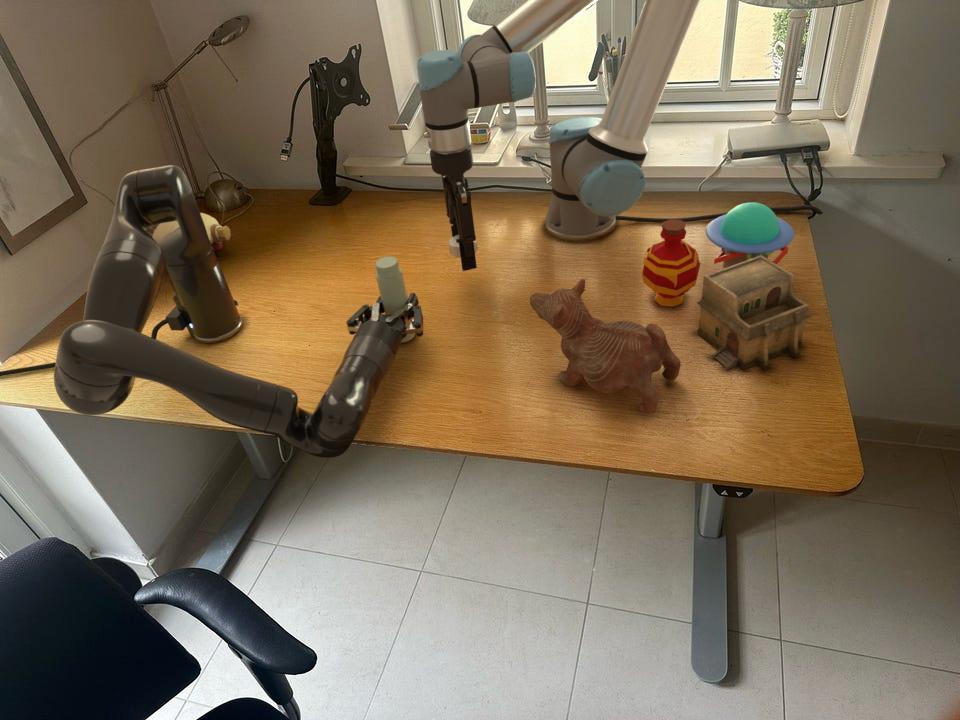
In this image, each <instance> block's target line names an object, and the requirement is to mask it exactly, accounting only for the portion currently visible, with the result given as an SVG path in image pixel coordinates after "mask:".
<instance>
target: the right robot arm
mask: <svg viewBox="0 0 960 720" xmlns="http://www.w3.org/2000/svg"><path fill="white" fill-rule="evenodd" d="M597 1H598V0H524V1H523V2H521V3H520V4H519V5H518V6H516V7H515V8H514V9H513V10H511V11H510V12H509V13H508V14H506V15H505V16H503V18H501V19H500V20H498V22H496V23H495V24H494V25H492V26H491V27H490V28H488V29H487V30H485V31H484V32H483V33H482V34H472V35H470V36H468V37H466V38H465V39H464V40H463V41H462V43H461V44H460V45H459V49H458V51H457V50H454V49H443V50H442V49H439V50H434V51H430V52H427V53H424V54H422V55H421V56H420V57H419V59H418V60H417V62H416V64H417V65H416V67H417V77H418V89H419V94H420V100H421V106H422V112H423V113H422V114H423V119H424V124H425V125H424V126H425V129H426V132H423V138H425V139H427V144H428V148H429V149H430V150H429V159H430V165H431V170H432V171H433V173H435V174H437V175H439V176H441V182H442V187H443V194H444V202H445V208H446V209H445V210H446V217H447V218H448V221H449V224H450V230H451V231H450V232H451V238H452V237H454V236H456V235H459V239H456V242H457V243H459V249H460V256H461V258H460V263H461V269H462V271H463V272H465V271H470V270H475V269H477V267H478V266H477V259H476V253H475V250H474V242H473V241H477V236H476V232H475V230H476V229H475V224H474V215H473V208H472V193H471V191H470V190H468V189H469V183H468V182H469V181H468V178H466V177H465V175H464V174H465V173H466V172H467V171H470V170H471V169H472V168H473V166H474V157H473V155H474V154H473V147H472V145H471V143H472V136H471V127H470V119H469V110H474V109H479V108H487V107H491V106H497V105H501V104H503V105H504V104H508V103H517V102H518V101H523V100H526V99H529V98H531V97H533V95H534V94H535V91H536V86H537V75H536V69H535V64H534V60H533V59H532V56H531V55H530V54H529V53H531V51H533V50H534V49H535V48H537V47H538V46H539V45H541V44H542V43H543V42H546V40H547V39H549V38H550V37H551V36H553V35H554V34H555V33H557V32H558V31H559V30H561V29H562V28H563V27H564V26H566V25H567V24H568V23H569V22H571V21H572V20H574V19H575V18H576V17H577V16H579V15H580V14H581V13H582V12H584V11H585V10H587V8H589V7H590V6H592V5H593V4H594V3H596V2H597ZM701 1H702V0H645V1H644V4H643V6H642V9H641V12H640V15H639V18H638V20H637V22H636V26H635V28H634V30H633V34H632V37H631V39H630V41H629V44H628V47H627V50H626V53H625V54H624V55H625V56H624V57H623V61H622V63H621V66H620V68H619V72H618V74H617V77H616V79H615V82H614V85H613V88H612V90H611V92H610V96H609V98H608V100H607V104H606V107H605V109H604V112H603V115H602V118H601V117H594V116H586V117H585V116H584V117H583V116H581V117H575V118H570V119H569V118H568V119H566V120H562V121H559V122H557V123H555V124H554V125H552V126H551V128H550V129H549V141H548V144H549V156H550V174H551V175H550V176H551V188H552V189H551V190H552V191H551V193H552V194H551V198H550V202H549V206H548V209H547V213H546V216H545V229H546V232H547V233H548V234H549V236H550V235H551V236H552V237H553V238H556V239H558V240H561V241H567V242H586V241H587V242H588V241H594V240H597V239H600V238H604V237H605V236H607V235H608V234H610V233H611V232H613V230H614V229H615V227H616V223H617V221H625V222H639V223H655V224H656V223H657V224H663V222H664V221H667V220H670V219H676V220H682V221H683V222H685V223H691V222H692V223H693V222H700V221H707V220H714V219H716V218H718V217H720V216H723V215H726V214H727V213H728V212H729V211H727V212H722V213H715V214H713V213H712V214H705V215H699V216H690V217H669V218H667V217H666V218H665V217H660V218H659V217H642V216H641V217H639V216H628V215H621V214H622V213H624V212H625V211H626V212H627V211H629V210H630V209H631V208H633V207H634V206H635V205H636V203H638V202H639V200H640V198H641V197H642V195H643V193H644V190H645V187H646V178H645V174H644V170H643V169H642V167H643V164H644V162H645V159H646V156H647V155H648V152H649V149H648V146H647V143H646V141H645V137H646V135H647V133H648V131H649V128H650V126H651V123H652V120H653V118H654V115H655V113H656V111H657V108H658V106H659V104H660V101H661V99H662V96H663V93H664V91H665V89H666V86H667V84H668V82H669V79H670V76H671V74H672V72H673V69H674V67H675V64H676V62H677V59H678V56H679V55H680V52H681V50H682V48H683V45H684V43H685V40H686V37H687V36H688V32H689V30H690V28H691V25H692V23H693V20H694V19H695V15H696V13H697V11H698V8H699V6H700V4H701ZM769 208H770V209H771V210H772V211H773V212H774V213H779V212H797V211H804V210H805V211H807V210H808V211H812V212H814V213H815V214H817V215H823V213H824V212H823V211H822V210H821V209H819V207H817V206H815V205H811V204H804V205H802V204H801V205H795V206H774V207H773V206H772V207H769Z"/></svg>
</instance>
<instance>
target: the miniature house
mask: <svg viewBox="0 0 960 720" xmlns="http://www.w3.org/2000/svg"><path fill="white" fill-rule="evenodd" d="M772 261H773V260H770V259H769V258H768V259H767V258H765V257H763V256H762V255H760V256H758V257H755V258H752V259H749V260H746V261H744V262H741V263H738V264H735V265H732V266H730V267H727V268H724V269H723V268H721V269H718V270H716V271H713V272H710V273H708V274H705V275H703V282H702V291H701V299H700V300H699V301H697V302H696V304H697V305H698V306H700V312H699V320H698V321H699V323H698V328H697V335H698V336H700V337H701V338H702V339H704V340H705V341H706V342H707V343H709V344H710V345H711V346H712V347H713V348H714V349H716V350H717V351H715V352H714V353H713V354H711V358H712V359H715V360H717V362H719V363H720V364H721V365H723V367H724V369H725V370H729V369H731V368H734V367H736V366H737V367H739V368H740V369H741V370H743V371H744V370H748V369H749V368H752V367H754V366H758V367H760V368H761V369H762V370H764V371H766V370H769V369H770V366H771V364H770V360H772V359H774V358H776V357H779V356H782V355H784V354H788V355H789V356H791V357H792V358H794V359H796V358H799V357H800V351H799V348H801V347H802V345H803V341H802V339H803V335H804V330H805V326H806V321H807V319H809V318H811V317H813V315H812V314H811V313H810V311H809V308H810V305H809V304H808V303H806V302H805V301H803V300H802V299H800V298H798V297H797V296H796V294H795V291H794V286H795V285H794V284H795V275H794V274H793V273H792V272H790V271H788V270H787V269H785V268H783V267H782V266H780V265H778V264H775V263H773V262H772Z"/></svg>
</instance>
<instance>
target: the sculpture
mask: <svg viewBox="0 0 960 720" xmlns="http://www.w3.org/2000/svg"><path fill="white" fill-rule="evenodd" d="M585 289H586V279H585V278H580V279H579V280H578V282H577V283H576V284H575V285H574V286H573V287H572V288H558V289H555V290H554V291H553V292H552V293H541V292H534V293H532V294H531V295H530V296H529V304H530V306H531V308H532V310H533V311H535V312H536V314H537V316H538V318H539V319H541V320H543V321H545V322H546V323H547V324H548V325H549V326H550V327H551V328H552V329H554V330H555V331H556V332H557V333H558V334H559V335H560V336H561V341H560V349H561V352H562V354H563V356H564V357H565V358H566V359H567V360H568V364H567V366H566V370H563V371H559V373H558V377H557V378H558V381H559V382H560V383H562V384H564V385H566V386H569V387H576V386H578V385H579V384H580V383H581V382H582V379H583V378H584V379H585V381H586V383H587V384H588V385H589V386H590V388H592V389H594V390H595V391H597V392H601V393H607V394H608V393H609V394H613V393H619V392H621V391H624V390H626V389H627V388H628V387H629V388H630V389H631V390H632V391H633V393H635V394H636V396H638V397H639V398H640V399H641V400H642V402H641V403H640V404H639V410H640V411H641V412H642V413H645V414H651V413H654V411H655V410H656V408H657V406H658V403H659V401H660V399H661V393H660V391H659V390H658V388H657V387H656V386H655V385H654V384H653V382H652V376H653V374H654V373H656V372H659V371H660V370H661V369H662V366H663V371H662V372H661V377H662V378H663V379H664V380H666V381H671V382H672V381H675V380H676V379H677V378H678V377H679V374H680V370H681V365H682V363H681V360H680V358H679V357H678V356H677V355H676V354H675V352H674V351H673V350H672V348H671V347H670V345H669V343H668V340H667V337H666V333H665V331H664V330H663V328H662V327H661V326H660V325H659V324H657V323H648V324H647V325H646V326H644V325H642V324H640V323H638V322H634V321H631V320H619V321H612V322H611V321H610V322H605V321H602V320H601V319H599V318H596V317H594V316H592V315H591V313H590V311H589V310H588V308H587V306H586V304H585V302H584V300H583V298H582V295H583V293H584V292H585Z"/></svg>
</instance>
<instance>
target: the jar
mask: <svg viewBox="0 0 960 720" xmlns="http://www.w3.org/2000/svg"><path fill="white" fill-rule="evenodd" d="M374 265H375V271H376V272H375V279H376V283H377V286H378V291H379V296H380V295H381V299H382V303H383V308H384V314H386V315H391V314H393V313H395V312H396V311H397V310H398V309H402V308H403V307H404V306H405V305H406V302H407V300H408V298H409V296H408V292H407V288H406V283H405V279H404V275H403V270H402V268H401V267H400V265H399V259H398V258H396V257H394V256H383V257H381V258H379V259H377V260H376V261H375V264H374ZM410 323H412V322H411V321H410V322H409V324H408V326H409V325H410ZM408 326H407V327H408ZM415 336H416V333H412V334H407V336H406V337H405V338H404V339H403V340H402V341H401V344H402V343H407V342H409V341H411V340H413V338H415Z"/></svg>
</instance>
